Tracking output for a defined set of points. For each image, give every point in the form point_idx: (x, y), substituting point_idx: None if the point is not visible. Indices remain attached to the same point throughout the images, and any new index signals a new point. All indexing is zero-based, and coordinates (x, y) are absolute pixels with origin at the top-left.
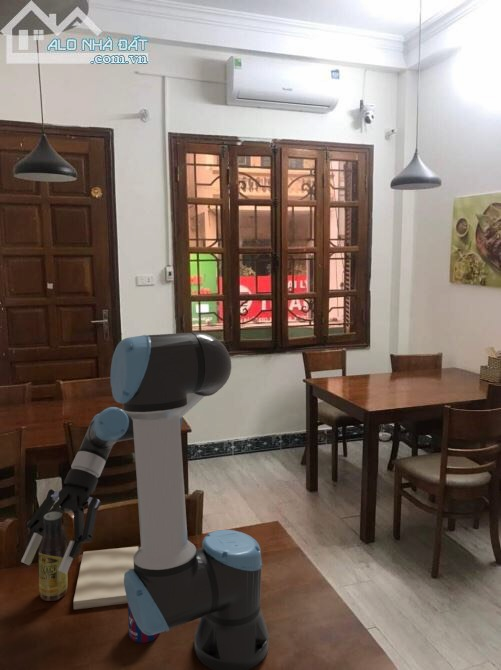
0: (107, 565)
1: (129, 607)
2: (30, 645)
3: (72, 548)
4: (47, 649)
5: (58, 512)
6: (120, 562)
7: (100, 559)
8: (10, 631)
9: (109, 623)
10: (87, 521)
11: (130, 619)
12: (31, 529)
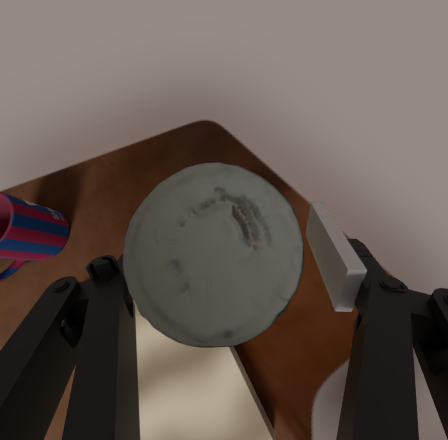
0: (171, 392)
1: (8, 199)
2: (201, 152)
3: None
4: (171, 155)
5: (189, 329)
6: (144, 417)
7: (204, 417)
8: (253, 162)
9: (106, 232)
10: (1, 374)
11: (27, 201)
12: (413, 295)
